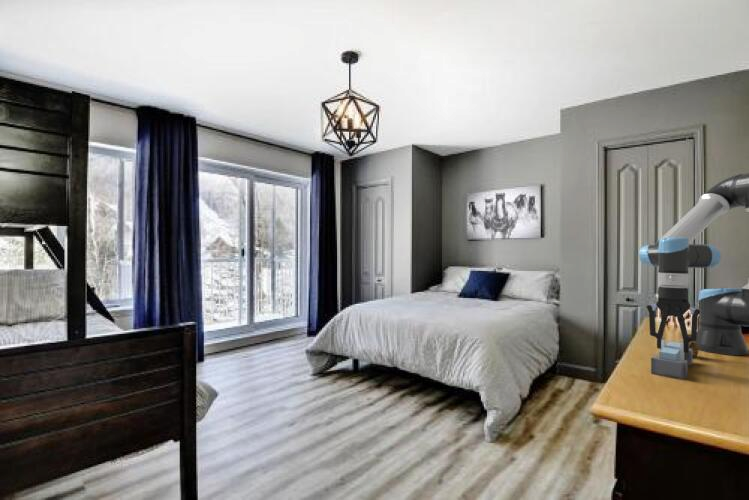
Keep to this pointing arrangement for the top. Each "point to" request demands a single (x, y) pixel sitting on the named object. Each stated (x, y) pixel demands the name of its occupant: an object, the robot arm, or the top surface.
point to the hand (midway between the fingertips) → (672, 360)
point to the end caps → (672, 366)
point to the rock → (693, 346)
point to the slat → (671, 352)
